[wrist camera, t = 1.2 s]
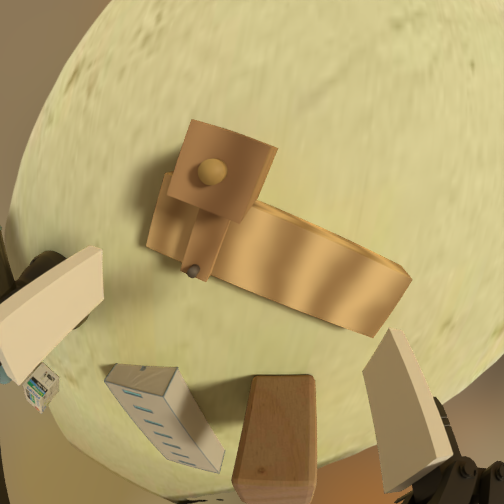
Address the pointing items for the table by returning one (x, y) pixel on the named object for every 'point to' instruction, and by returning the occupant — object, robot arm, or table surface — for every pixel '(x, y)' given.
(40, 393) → the light bulb box
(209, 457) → the warehouse
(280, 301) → the plank
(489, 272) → the table surface
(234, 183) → the wooden box
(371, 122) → the table surface
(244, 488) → the wooden block
